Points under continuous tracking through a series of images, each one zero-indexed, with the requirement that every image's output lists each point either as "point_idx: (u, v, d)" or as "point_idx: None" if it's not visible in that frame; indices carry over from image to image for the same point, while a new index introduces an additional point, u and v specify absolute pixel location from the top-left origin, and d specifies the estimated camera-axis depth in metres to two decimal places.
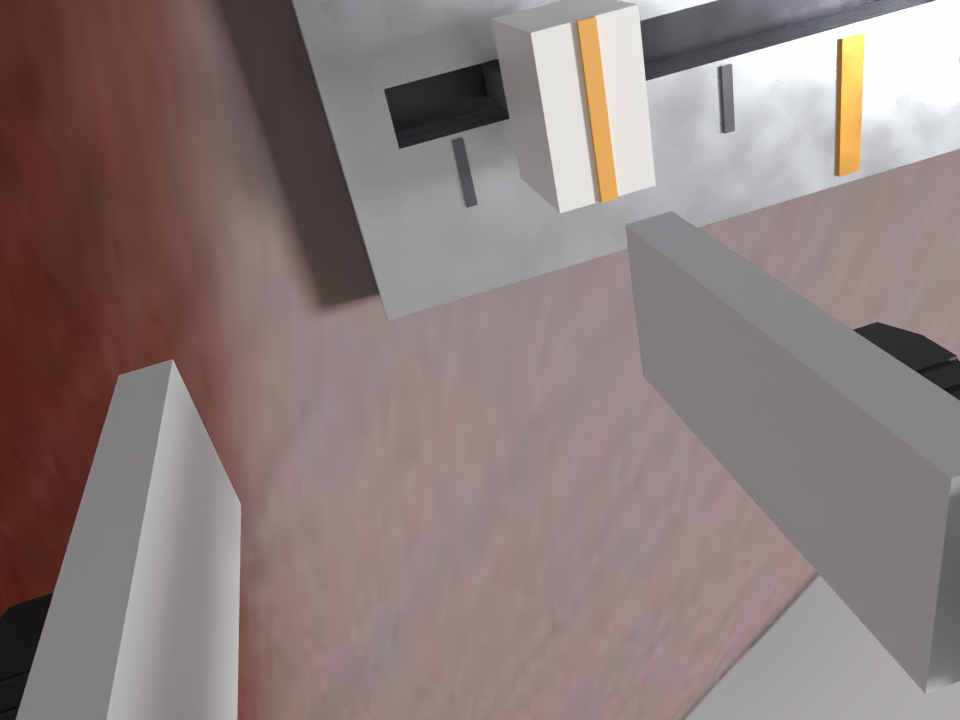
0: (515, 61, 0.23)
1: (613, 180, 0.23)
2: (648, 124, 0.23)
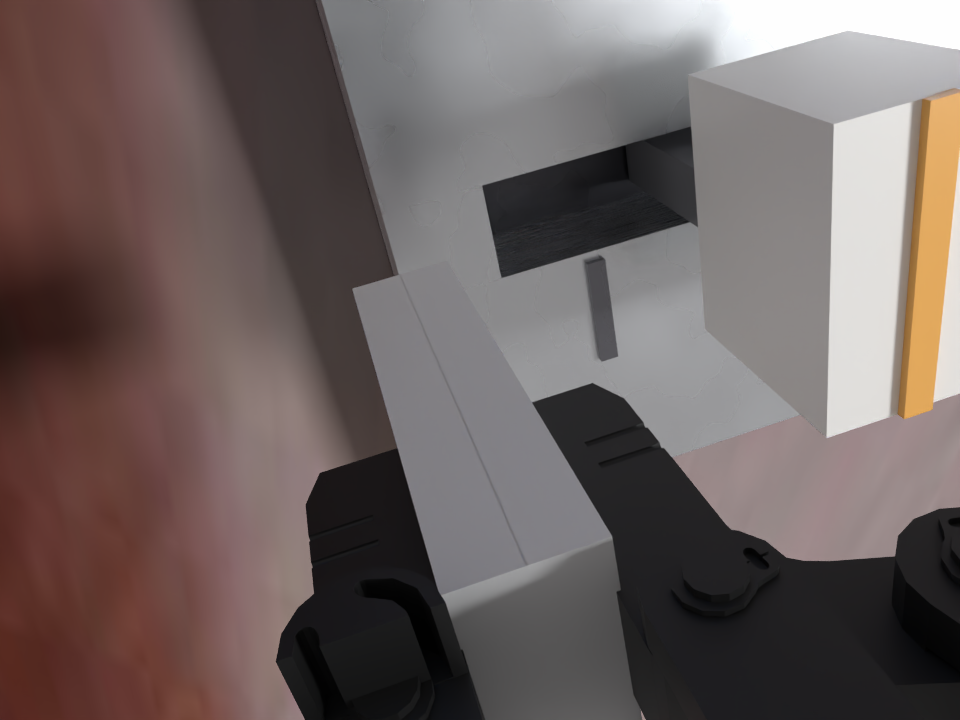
0: (751, 160, 0.12)
1: (926, 379, 0.13)
2: None
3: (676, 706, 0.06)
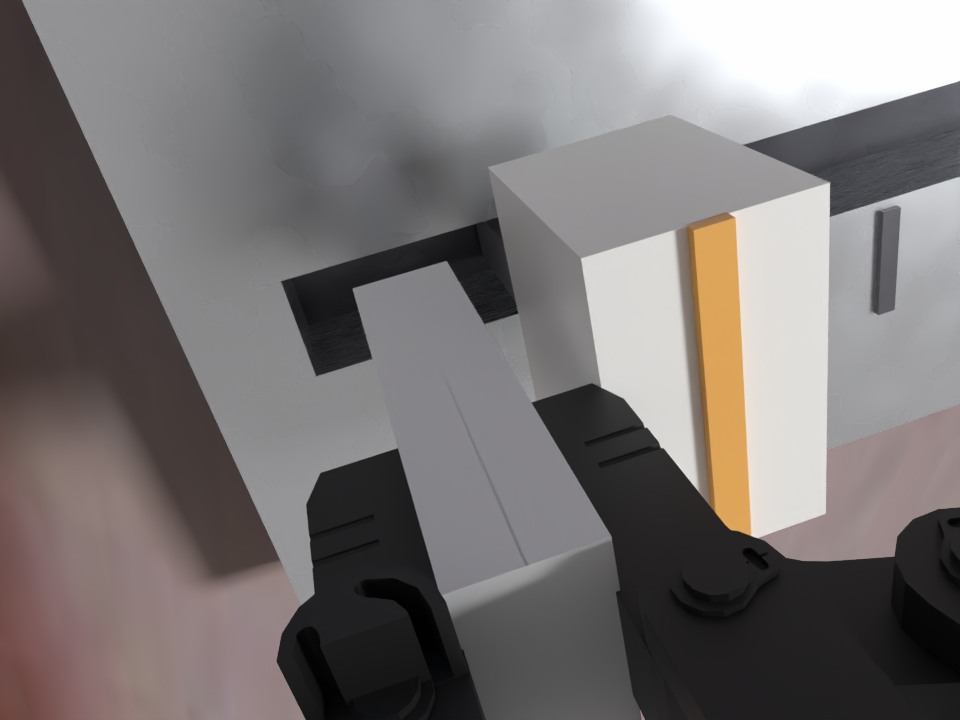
0: (538, 272, 0.11)
1: (742, 515, 0.11)
2: (822, 409, 0.11)
3: (675, 706, 0.06)
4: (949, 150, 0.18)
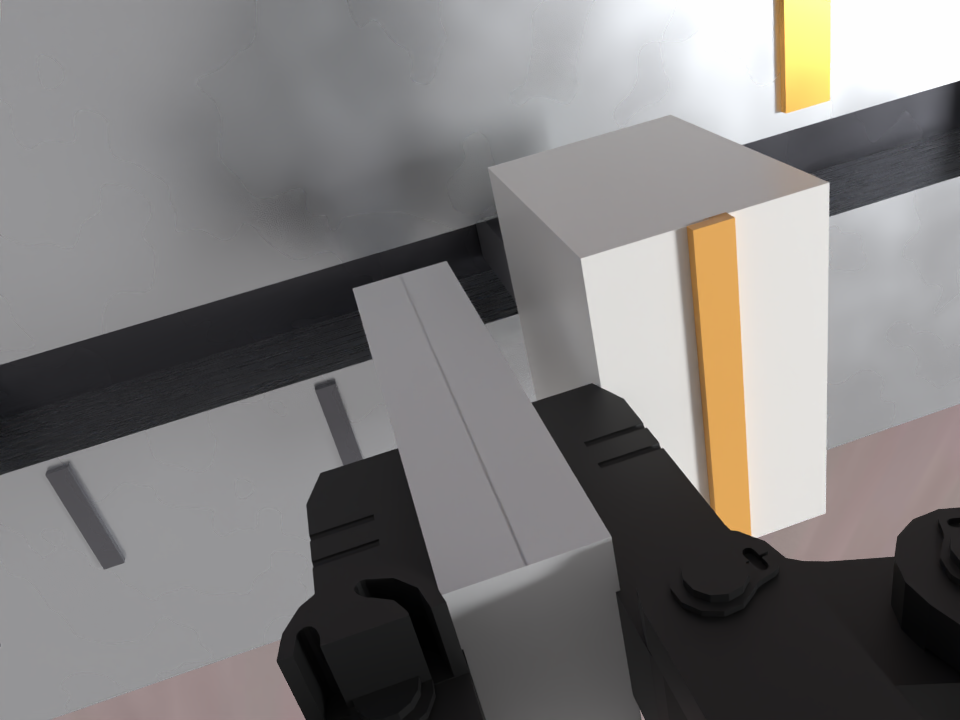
0: (538, 273, 0.11)
1: (742, 515, 0.11)
2: (823, 409, 0.11)
3: (675, 706, 0.06)
4: None
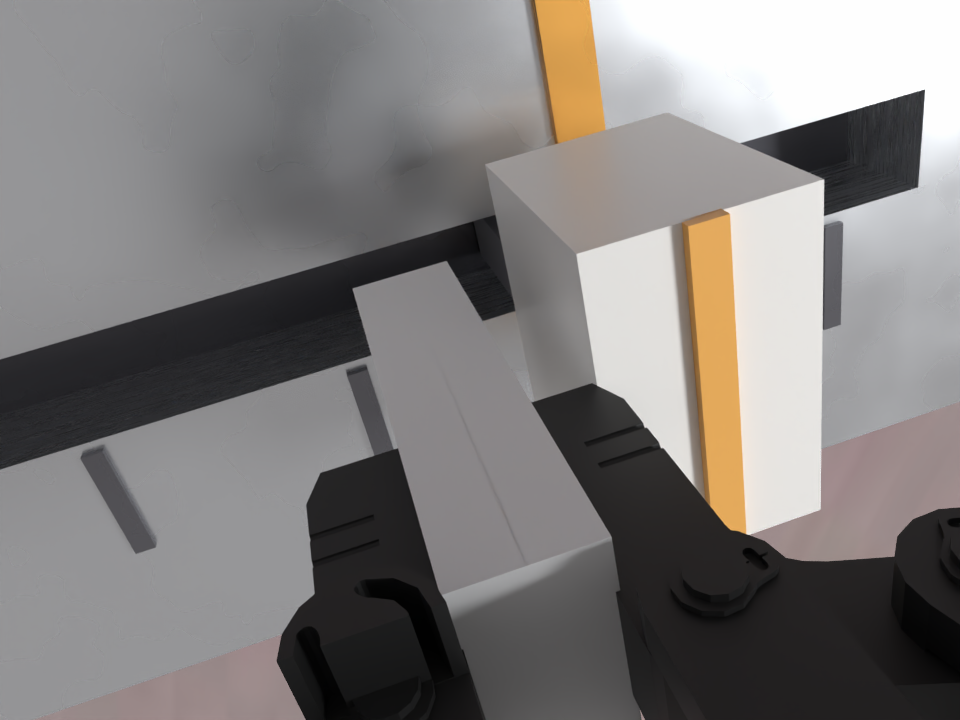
0: (535, 269, 0.11)
1: (737, 511, 0.11)
2: (817, 406, 0.11)
3: (675, 706, 0.06)
4: None
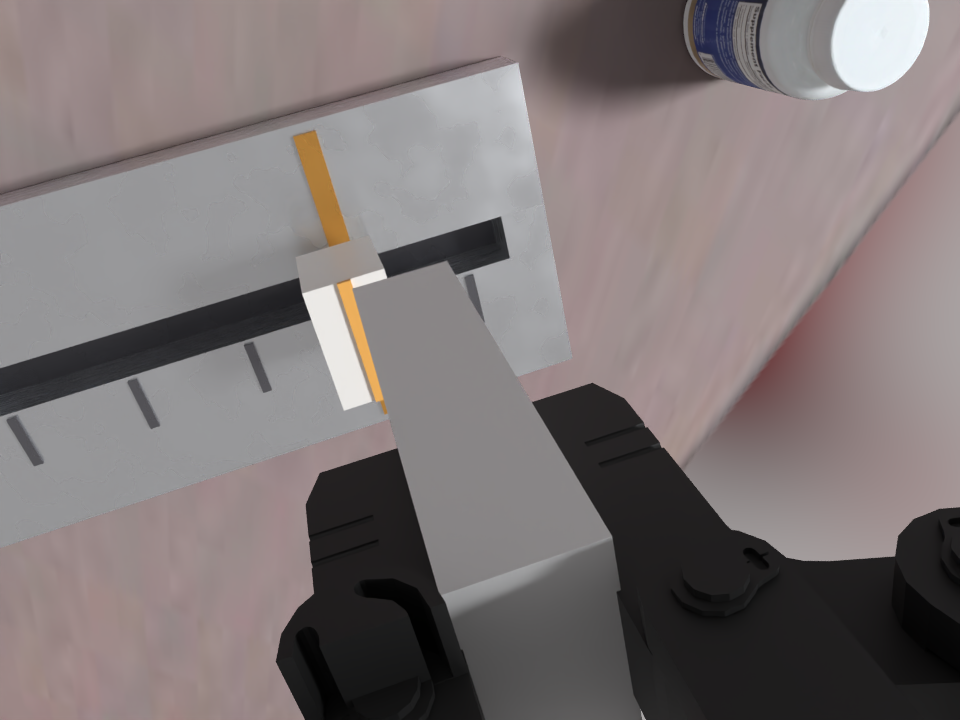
0: None
1: None
2: None
3: (676, 706, 0.06)
4: (302, 310, 0.36)
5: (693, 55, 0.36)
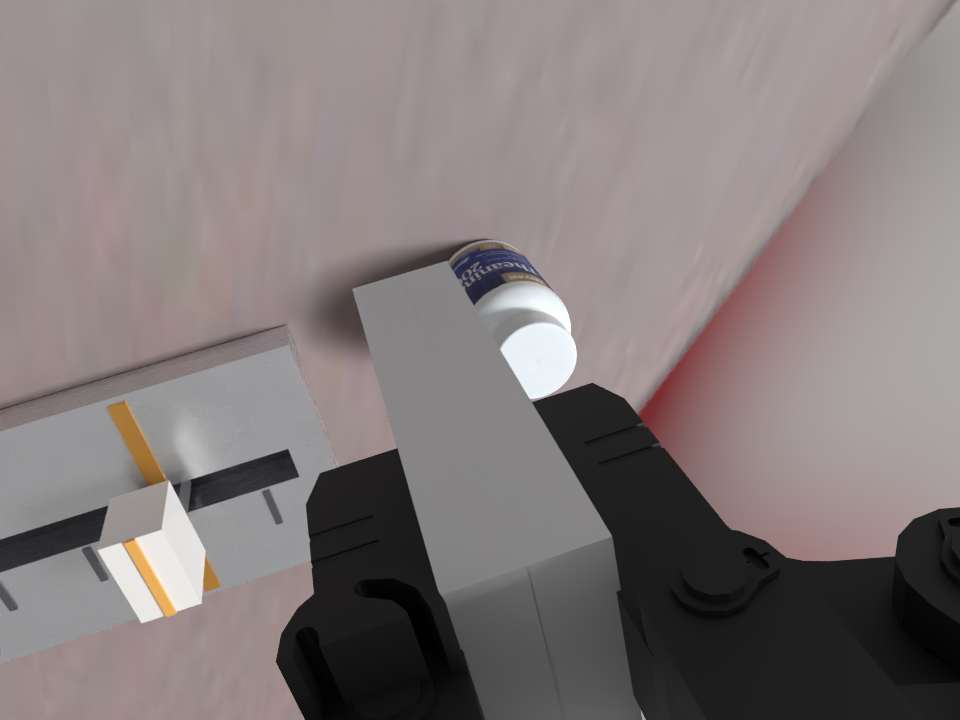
0: None
1: (172, 604, 0.40)
2: (187, 576, 0.39)
3: (676, 706, 0.06)
4: None
5: None
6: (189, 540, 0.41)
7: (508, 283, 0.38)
